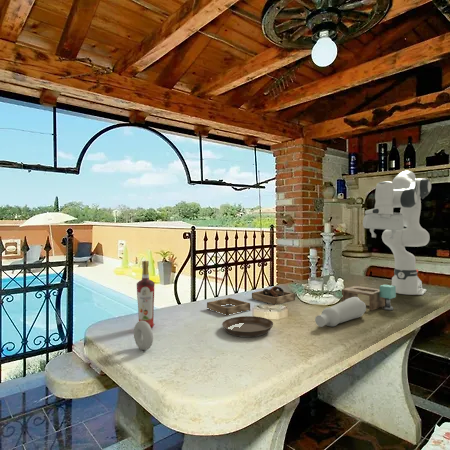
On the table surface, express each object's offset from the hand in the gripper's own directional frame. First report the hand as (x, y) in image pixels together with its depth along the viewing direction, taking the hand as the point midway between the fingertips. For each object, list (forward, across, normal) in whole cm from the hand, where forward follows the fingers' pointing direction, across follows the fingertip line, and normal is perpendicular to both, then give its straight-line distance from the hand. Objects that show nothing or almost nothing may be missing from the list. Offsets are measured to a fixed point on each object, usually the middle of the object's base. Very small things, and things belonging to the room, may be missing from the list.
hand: (382, 238), depth 168 cm
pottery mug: (+38, +52, -18) cm, 67 cm away
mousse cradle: (+41, +78, +3) cm, 89 cm away
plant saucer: (+43, +71, +34) cm, 90 cm away
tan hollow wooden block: (+35, +8, -1) cm, 36 cm away
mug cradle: (+38, +52, -18) cm, 67 cm away
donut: (+47, +109, +52) cm, 130 cm away
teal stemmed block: (+35, 0, +8) cm, 36 cm away
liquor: (+46, +113, +29) cm, 126 cm away
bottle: (+39, +31, +26) cm, 56 cm away
